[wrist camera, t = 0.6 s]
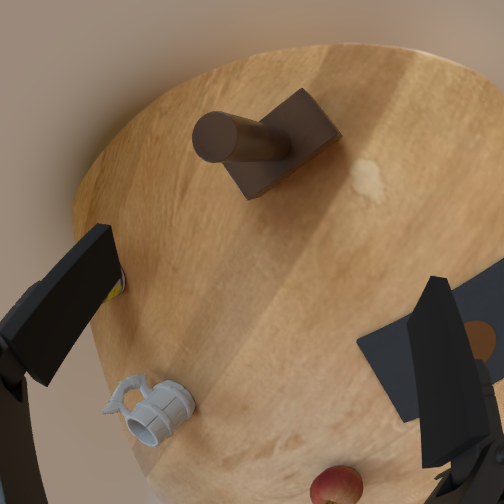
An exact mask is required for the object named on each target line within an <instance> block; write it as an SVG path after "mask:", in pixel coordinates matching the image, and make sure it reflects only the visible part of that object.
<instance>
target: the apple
mask: <svg viewBox="0 0 504 504" xmlns="http://www.w3.org/2000/svg"><path fill="white" fill-rule="evenodd" d="M362 493H363V482H362V479H361V476H360V475H359V474H358V473H357V472H356V471H355V470H354V469H352V468H349V467H344V466H337V467H331V468H329V469H327V470H325V471H323V472H322V473H321V474H320V475H319V476H318V477H317V478H316V479H315V480H314V481H313V483H312V485H311V488H310V497H311V500H312V502H313V503H314V504H356V503H357V502H358V501H359V499H360V498H361V496H362Z"/></svg>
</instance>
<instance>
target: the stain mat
mask: <svg viewBox="0 0 504 504" xmlns="http://www.w3.org/2000/svg"><path fill="white" fill-rule="evenodd" d="M452 293H453V296H454V299H455V301H456V304H457V307H458V310H459V312H460V315H461V318H462V321H463V324H464V327H465V330H466V333H467V336H468V339H469V343H470V346H471V349H472V353H473V356H474V359H482V360H483V362H484V364H485V365H486V367H487V368H488V370H489V373H490V376H491V380H492V384H494V383H496V382H497V381H499V380H501V379H503V378H504V258H503V259H501V260H500V261H498V262H497V263H495V264H494V265H492V266H491V267H489V268H488V269H486V270H485V271H483V272H482V273H480V274H478V275H477V276H475V277H474V278H472V279H470V280H469V281H467V282H466V283H464V284H462V285H461V286H459V287H457V288H456V289H454V290H452ZM411 314H412V313H411ZM411 314H409V315H407V316H405V317H403V318H401V319H399V320H397V321H395V322H393V323H391V324H389V325H387V326H385V327H383V328H381V329H379V330H377V331H375V332H372V333H370V334H368V335H366V336H364V337H362V338H360V339H357V344H358V346H359V347H360V349H361V351H362V352H363V354H364V356H365V357H366V359H367V360H368V362H369V364H370V365H371V367H372V369H373V371H374V372H375V374H376V376H377V377H378V379H379V381H380V382H381V384H382V386H383V387H384V389H385V391H386V393H387V394H388V396H389V398H390V399H391V401H392V403H393V405H394V406H395V408H396V410H397V412H398V413H399V415H400V417H401V419H402V420H403V422H404V423H405V422H408V421H411V420H414V419H416V418H419V407H418V397H417V388H416V380H415V373H414V366H413V359H412V353H411V347H410V341H409V335H408V330H407V325H406V323H407V321H408V320H409V318H410V316H411Z"/></svg>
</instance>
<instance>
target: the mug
mask: <svg viewBox="0 0 504 504" xmlns="http://www.w3.org/2000/svg"><path fill="white" fill-rule="evenodd" d="M138 388H139V389H140V391H141V393H142V395H143V396H144V398H145V399H144V400H143V401H141V402H139V403H137V404H136V406H135V409H134V410H133V411H132V412H131V411H130V410H129V409H128V408H126V407H125V406H124V405H123V400H124V394H125V393H127V391H129V390H130V389H138ZM194 409H195V402H194V400H193V397H192V395H191V394H190V393H189V391H188V390H187V389H184V387H183V386H182V385H180V384H179V383H176V382H174V381H171V380H165V381H163V382H162V383H158V384H157V385H155V386H154V387H153V389H152V390H151V389H150V388H149V386H148V384H147V382H146V375H145V373H143V374H139V375H137V374H134V375H131V376H129V377H128V378H127V379H124V380H122V381H120V382H119V385H118V386H117V388H116V390H115V391H114V394H113V396H112V397H111V400H110V401H109V403H108V405H107V406H106V407H105V408H104V409H103V410H102V414H114V413H117V412H118V411H119V412H121V413H122V414H123V415H124V416H125V417H126V419H125V422H126V425H127V427H128V429H129V430H130V432H131V433H132V434H133V435H134V436H135V437H137V439H138V440H140V441H141V442H142V443H144V444H145V445H147V446H149V447H157V446H159V445H160V444H161V443H162V442H163V441H164V440H165V439H166V438H169V437H171V436H173V433H174V430H175V429H176V428H177V427H178V426H179V425H180V424H181V423H182V422H183V421H186V420H189V419H190V417H191V416H192V413H193V411H194Z"/></svg>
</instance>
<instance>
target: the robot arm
mask: <svg viewBox="0 0 504 504" xmlns="http://www.w3.org/2000/svg"><path fill="white" fill-rule="evenodd" d="M122 275H123V274H122V270H121V266H120V263H119V259H118V254H117V250H116V246H115V242H114V237H113V233H112V228H111V225H106V224H99V223H97V224H96V225H95V226H94V227H93V228H92V229H91V230H90V231H89V232H88V233H87V234H86V235H85V236H84V237H83V238H82V239H81V240H80V241H79V242H78V243H77V244H76V245H75V246H74V247H73V248H72V249H71V250H70V251H69V252H68V253H67V254H66V255H65V256H64V257H63V258H62V259H61V260H60V261H59V262H58V263H57V264H56V265H55V266H54V268H53V269H52V270H51V271H50V272H49V273H48V274H47V275H46V276H45V278H43V280H42V281H38V282H36V283H35V284H33V285H32V286H31V287H29V288H28V289H27V291H26V292H25V293H24V294H23V295H22V297H21V298H20V299H19V300H18V301H17V302H16V304H15V306H13V307H12V308H11V309H10V311H9V312H8V313H7V314H6V316H5V317H4V318H3V319H2V320H1V322H0V504H48V501H47V498H46V494H45V490H44V487H43V483H42V479H41V475H40V471H39V466H38V461H37V456H36V451H35V446H34V440H33V434H32V427H31V421H30V412H29V403H28V392H27V381H26V378H25V376H24V374H25V373H26V371H27V372H28V373H29V374H30V376H31V377H32V378H33V379H34V380H35V381H37V382H39V383H40V384H42V385H44V386H46V387H48V385H49V383H50V382H51V380H52V378H53V377H54V375H55V373H56V372H57V370H58V368H59V367H60V365H61V364H62V362H63V361H64V359H65V357H66V356H67V354H68V353H69V351H70V350H71V348H72V346H73V345H74V344H75V342H76V341H77V339H78V338H79V336H80V334H81V333H82V332H83V330H84V328H85V327H86V326H87V324H88V323H89V321H90V320H91V318H92V317H93V316H94V314H95V313H96V311H97V310H98V308H99V307H100V306H101V304H102V303H103V301H104V300H105V299H106V297H107V296H108V294H109V293H110V292H111V290H112V289H113V287H114V286H115V285H116V283H117V282H118V281H119V279H120V278H121V277H122ZM406 325H407V330H408V335H409V341H410V347H411V353H412V359H413V366H414V373H415V380H416V388H417V397H418V407H419V418H420V431H421V448H422V469H423V468H434V467H441V466H443V465H445V464H446V463H448V462H450V461H451V468H449V469H448V470H446V471H444V472H442V473H440V474H438V475H437V476H436V477H435V478H434V479H435V480H437V479H439V478H441V477H443V478H442V479H441V480H440V482H439V483H438V485H437V486H436V488H435V489H434V490H433V492H432V493H431V495H430V496H429V497H428V499H427V500H426V501H425V503H424V504H504V434H503V430H502V425H501V420H500V415H499V410H498V405H497V401H496V396H494V394H495V392H494V388H493V386H492V380H491V376H490V373H489V370H488V368H487V367H486V365H485V364H484V362H483V360H482V359H474V356H473V353H472V349H471V346H470V343H469V339H468V336H467V333H466V330H465V327H464V324H463V321H462V318H461V315H460V312H459V310H458V307H457V304H456V301H455V299H454V296H453V293H452V291H451V288H450V286H449V283H448V281H447V278H442V277H436V276H430V279H429V281H428V283H427V285H426V287H425V289H424V291H423V293H422V295H421V297H420V299H419V301H418V303H417V305H416V307H415V308H414V310H413V312H412V314H411V316H410V318H409V320H408V321H407V323H406Z"/></svg>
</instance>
